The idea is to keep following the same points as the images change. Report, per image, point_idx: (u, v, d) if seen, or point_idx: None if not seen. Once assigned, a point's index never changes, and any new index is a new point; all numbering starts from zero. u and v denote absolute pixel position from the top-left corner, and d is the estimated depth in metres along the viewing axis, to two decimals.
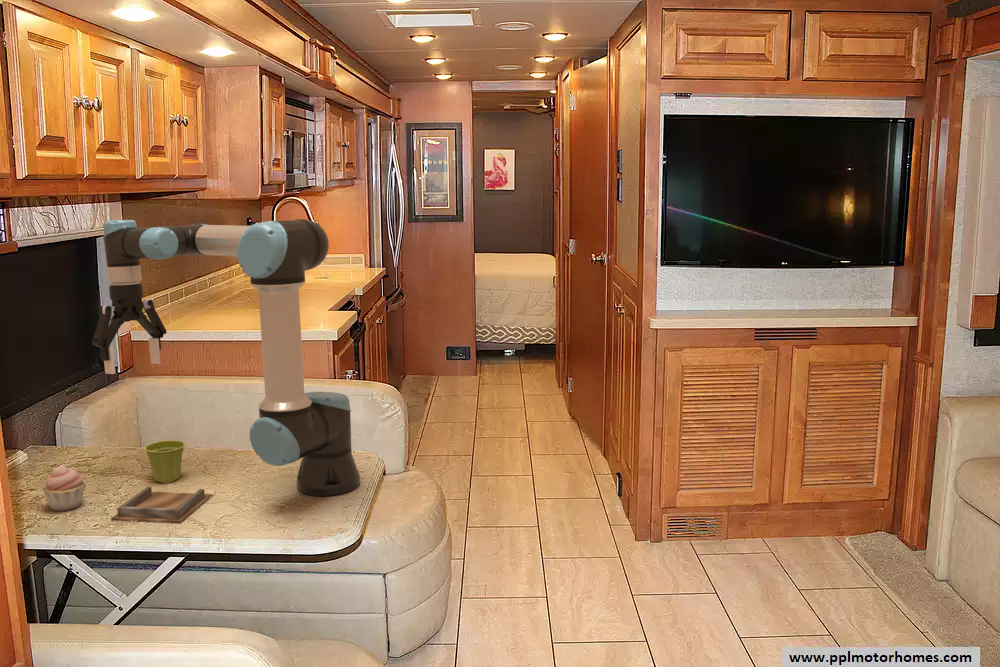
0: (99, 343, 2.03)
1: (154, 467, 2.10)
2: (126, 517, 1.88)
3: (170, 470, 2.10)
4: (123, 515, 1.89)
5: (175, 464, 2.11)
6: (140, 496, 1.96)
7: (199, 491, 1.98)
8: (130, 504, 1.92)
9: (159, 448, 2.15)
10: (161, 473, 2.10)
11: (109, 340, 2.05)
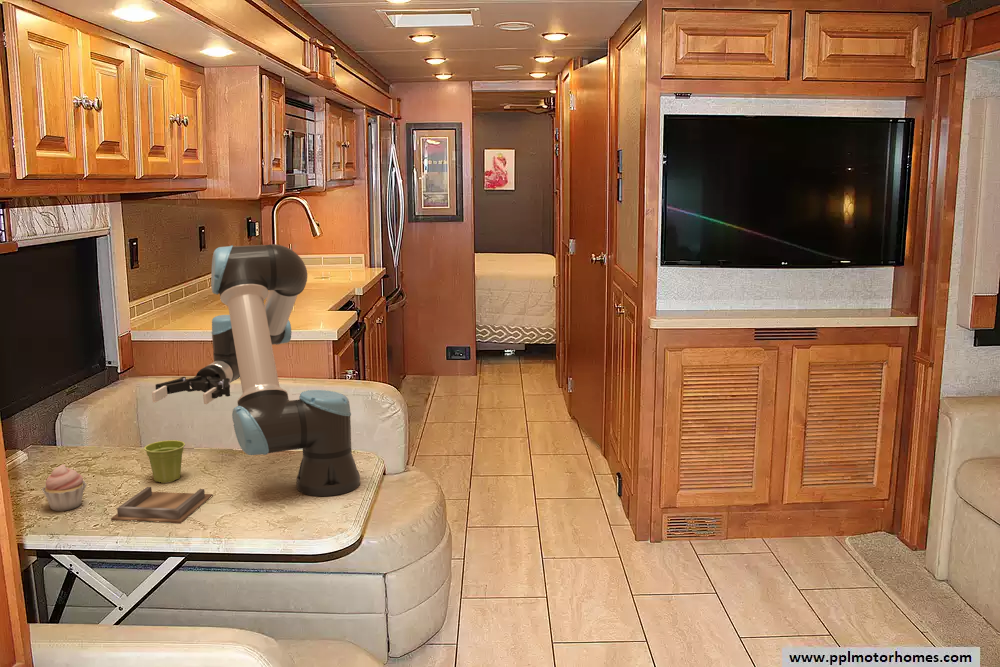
0: (156, 384, 2.27)
1: (154, 467, 2.10)
2: (126, 517, 1.88)
3: (170, 470, 2.10)
4: (123, 515, 1.89)
5: (175, 464, 2.11)
6: (140, 496, 1.96)
7: (199, 491, 1.98)
8: (130, 504, 1.92)
9: (159, 448, 2.15)
10: (161, 473, 2.10)
11: (167, 384, 2.27)
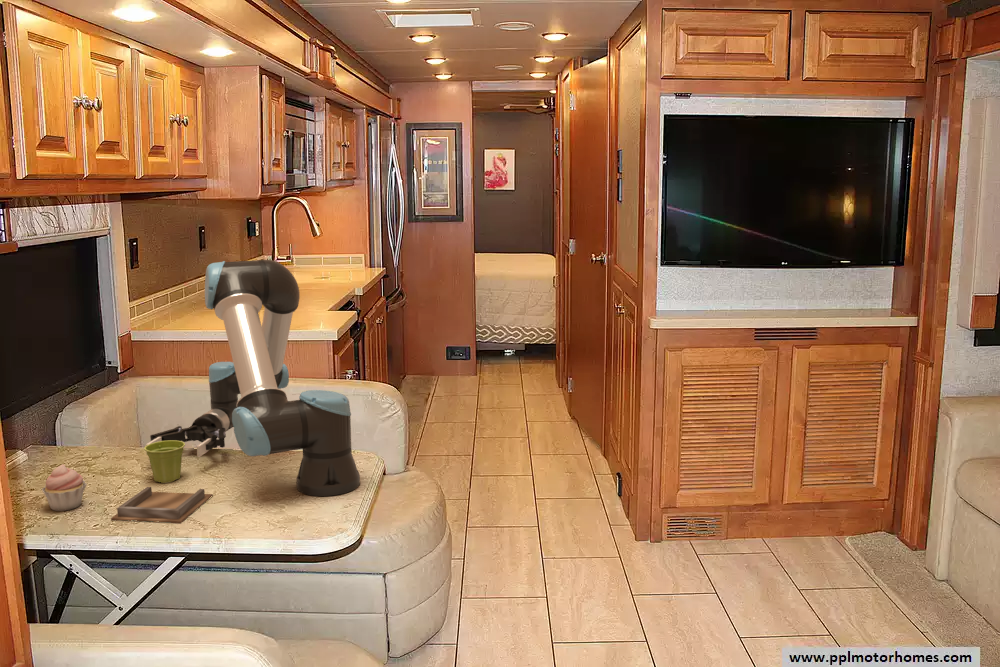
0: (151, 435, 2.26)
1: (154, 467, 2.10)
2: (126, 517, 1.88)
3: (170, 470, 2.10)
4: (123, 515, 1.89)
5: (175, 464, 2.11)
6: (140, 496, 1.96)
7: (199, 491, 1.98)
8: (130, 504, 1.92)
9: (159, 448, 2.15)
10: (161, 473, 2.10)
11: (162, 435, 2.26)
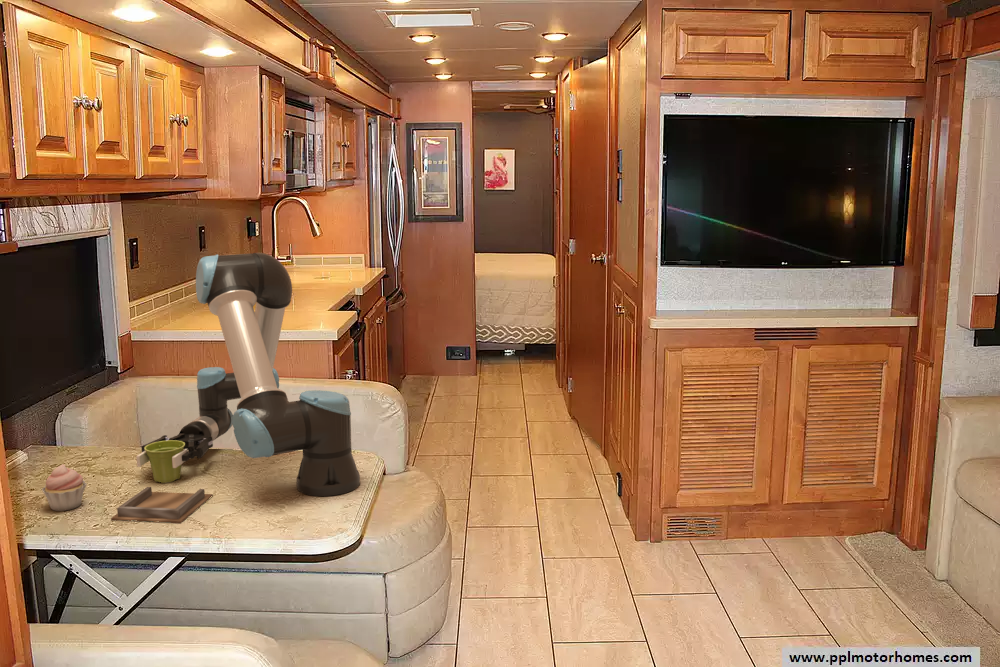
0: (142, 446, 2.16)
1: (154, 467, 2.10)
2: (126, 517, 1.88)
3: (170, 470, 2.10)
4: (123, 515, 1.89)
5: None
6: (140, 496, 1.96)
7: (199, 491, 1.98)
8: (130, 504, 1.92)
9: (159, 448, 2.15)
10: (161, 473, 2.10)
11: None
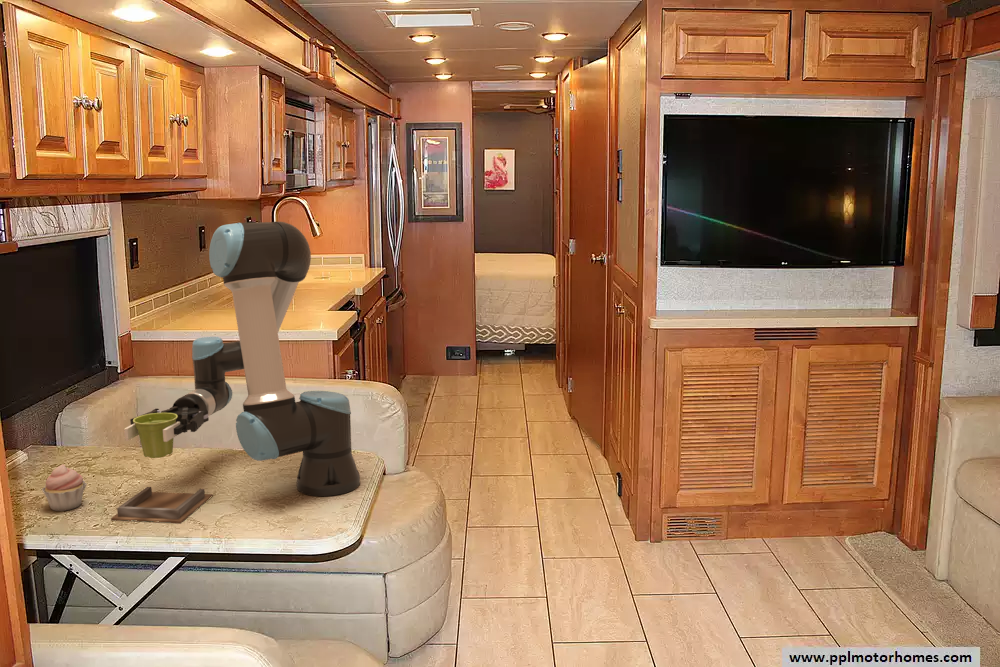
0: (131, 419, 1.98)
1: (143, 441, 1.92)
2: (126, 517, 1.88)
3: (161, 444, 1.92)
4: (123, 515, 1.89)
5: None
6: (140, 496, 1.96)
7: (199, 491, 1.98)
8: (130, 504, 1.92)
9: (149, 421, 1.97)
10: (151, 447, 1.92)
11: None
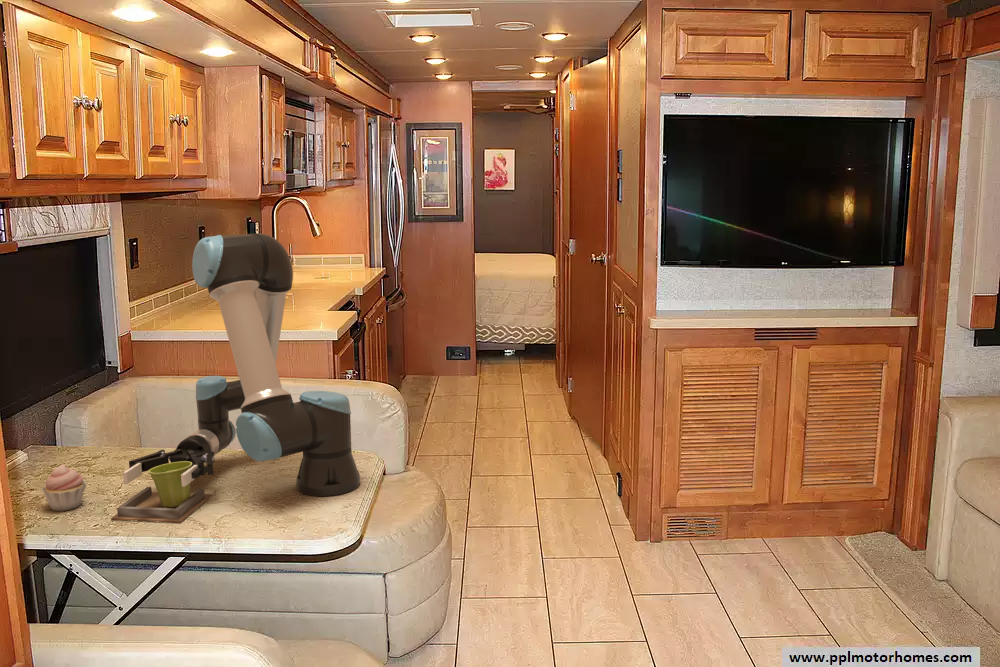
0: None
1: (161, 491, 1.92)
2: (126, 517, 1.88)
3: (179, 492, 1.92)
4: (123, 515, 1.89)
5: None
6: (140, 496, 1.96)
7: (199, 491, 1.98)
8: (130, 504, 1.92)
9: (164, 471, 1.97)
10: (169, 496, 1.92)
11: (142, 461, 1.99)
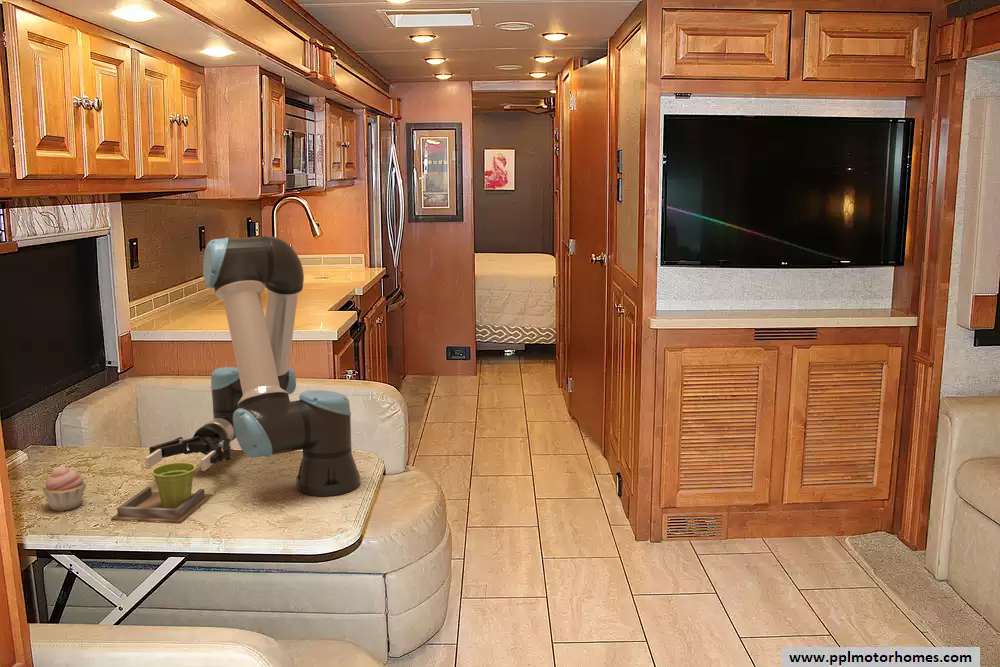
0: (150, 447, 2.09)
1: (163, 493, 1.91)
2: (126, 517, 1.88)
3: (181, 495, 1.92)
4: (123, 515, 1.89)
5: (186, 488, 1.93)
6: (140, 496, 1.96)
7: (199, 491, 1.98)
8: (130, 504, 1.92)
9: (165, 471, 1.97)
10: (171, 499, 1.92)
11: (162, 447, 2.09)
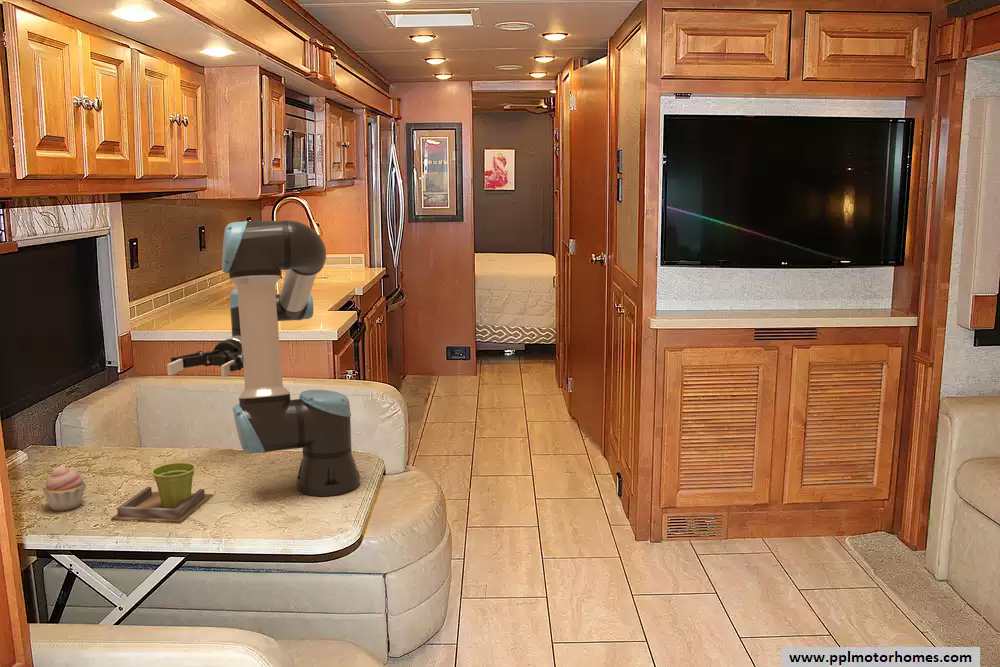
0: (172, 357, 2.16)
1: (163, 493, 1.91)
2: (126, 517, 1.88)
3: (181, 495, 1.92)
4: (123, 515, 1.89)
5: (186, 489, 1.93)
6: (140, 496, 1.96)
7: (199, 491, 1.98)
8: (130, 504, 1.92)
9: (165, 471, 1.97)
10: (171, 499, 1.92)
11: (183, 358, 2.16)
